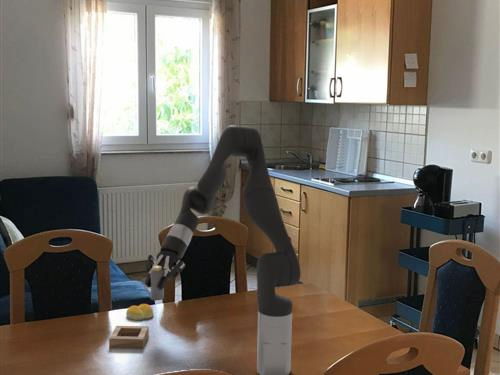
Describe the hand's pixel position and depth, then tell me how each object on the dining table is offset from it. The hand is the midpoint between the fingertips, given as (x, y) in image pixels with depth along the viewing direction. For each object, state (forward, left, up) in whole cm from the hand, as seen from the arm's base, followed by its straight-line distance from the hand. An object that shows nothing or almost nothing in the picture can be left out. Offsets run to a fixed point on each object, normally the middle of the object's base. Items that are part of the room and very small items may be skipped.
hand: (153, 287), depth 182 cm
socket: (-4, +7, -16) cm, 18 cm away
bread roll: (+18, +7, -16) cm, 25 cm away
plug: (+2, -1, -4) cm, 5 cm away
